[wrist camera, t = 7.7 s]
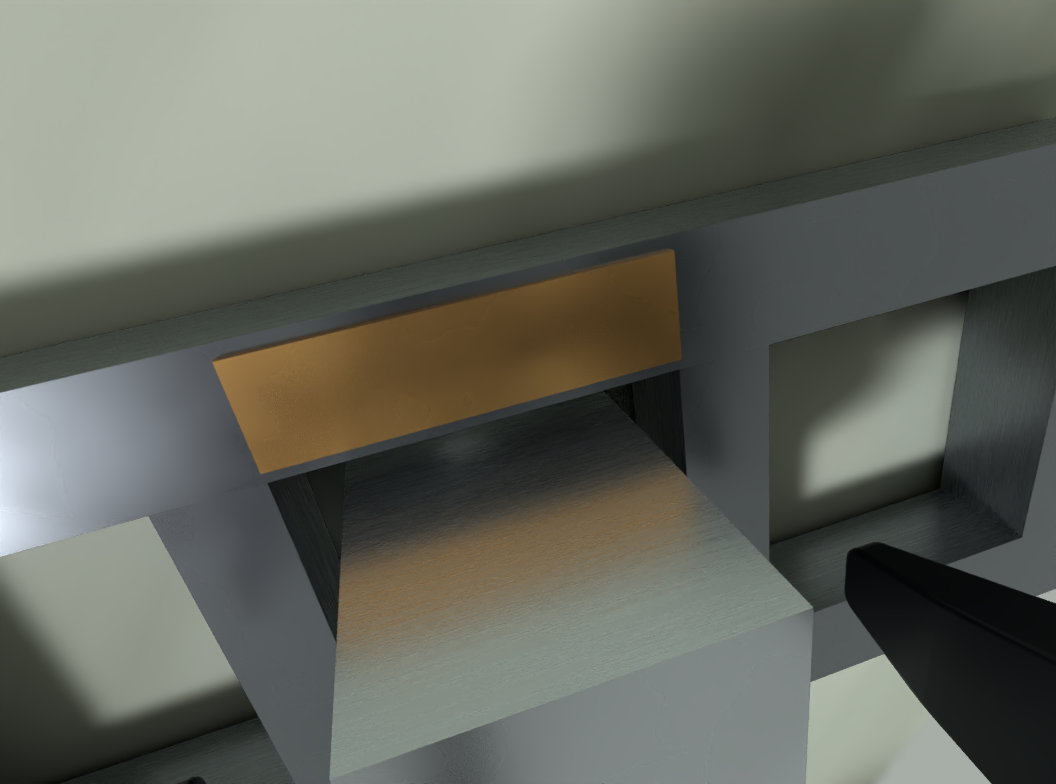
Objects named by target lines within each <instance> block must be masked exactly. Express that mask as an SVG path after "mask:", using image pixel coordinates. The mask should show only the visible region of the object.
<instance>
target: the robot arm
mask: <svg viewBox="0 0 1056 784" xmlns="http://www.w3.org/2000/svg"><path fill="white" fill-rule="evenodd" d="M844 593H845V597H846V600H847V602H848V604H849V606H850V608H851V609H852V611H853V612H854V613H855V615H856V616H857V617H858V619H859V620H860V622H861V623H862V624H863V626H864V627H865V628H866V630H867V631H868V632H869V634H870V635H871V636H872V638H873V639H874V641H875V642H876V643H877V645H878V646H879V647H880V649H881V650H882V651H883V653H884V654H885V655H886V657H887V658H888V660H889V661H890V662H891V664H892V665H893V666H894V668H895V669H896V670H897V672H898V673H899V674H900V676H901V677H902V679H903V680H904V681H905V683H906V684H907V685H908V687H909V688H910V689H911V691H912V692H913V693H914V694H915V696H916V697H917V698H918V700H919V701H920V702H921V703H922V705H923V706H924V707H925V708H926V709H927V711H928V712H929V713H930V714H931V715H932V717H933V718H934V719H935V720H936V721H937V722H938V723H939V725H940V726H941V727H942V728H943V729H944V730H945V731H946V732H947V734H948V735H949V736H950V737H951V738H952V739H953V741H955V743H956V744H957V745H958V746H959V747H960V748H961V750H962V751H963V752H964V753H965V754H966V755H967V756H968V757H969V759H970V760H971V761H972V762H973V763H974V764H975V765H976V767H977V768H978V769H979V770H980V771H981V772H982V773H983V774H984V776H985V777H986V778H987V779H988V780H989V781H990V783H991V784H1056V603H1053V602H1050V601H1047V600H1045V599H1042V598H1039V597H1036V596H1033V595H1030V594H1027V593H1025V592H1022V591H1019V590H1016V589H1013V588H1010V587H1007V586H1005V585H1002V584H999V583H996V582H993V581H990V580H988V579H985V578H982V577H979V576H976V575H973V574H970V573H968V572H965V571H962V570H959V569H956V568H953V567H950V566H948V565H945V564H942V563H939V562H936V561H933V560H930V559H928V558H925V557H922V556H919V555H916V554H913V553H910V552H908V551H905V550H902V549H899V548H896V547H893V546H890V545H888V544H885V543H881V542H876V541H873V542H868V543H865V544H863V545H860V546H857V547H854V548H852V549H850V550H849V552H848V553H847V557H846V570H845V584H844ZM170 784H206V782H205V781H204V779H203V778H202V777H199V776H197V775H195V776H190V777H187V778H184V779H181V780H179V781H176V782H173V783H170Z"/></svg>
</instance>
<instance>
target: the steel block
mask: <svg viewBox="0 0 1056 784" xmlns="http://www.w3.org/2000/svg"><path fill="white" fill-rule="evenodd" d="M813 611H814V608H813V607H812V606H811V605H810V604H809V603H808V601H807V600H806V599H805V598H804V597H803V596H802V595H801V594H800V593H799V592H798V591H797V590H796V589H795V588H794V587H793V586H792V585H791V584H790V583H789V582H788V581H787V580H786V579H785V578H784V577H783V576H782V575H781V574H780V573H779V571H778V570H777V569H776V568H775V567H774V566H773V565H772V564H771V563H770V562H769V561H768V560H767V559H766V558H765V557H764V556H763V555H762V554H761V553H760V552H759V551H758V550H757V549H756V548H755V547H754V546H753V545H752V544H751V543H750V542H749V540H748V539H747V538H746V537H745V536H744V535H743V534H742V533H741V532H740V531H739V530H738V529H737V528H736V527H735V526H734V525H733V524H732V523H731V522H730V521H729V520H728V519H727V518H726V517H725V516H724V515H723V514H722V513H721V512H720V511H719V509H718V508H717V507H716V506H715V505H714V504H713V503H712V502H711V501H710V500H709V499H708V498H707V497H706V496H705V495H704V494H703V493H702V492H701V491H700V490H699V489H698V488H697V487H696V486H695V485H694V484H693V483H692V482H691V481H690V479H689V478H688V477H687V476H686V475H685V474H684V473H683V472H682V471H681V470H680V469H679V468H678V467H677V466H676V465H675V464H674V463H673V462H672V461H671V460H670V459H669V458H668V457H667V456H666V455H665V454H664V453H663V452H662V451H661V450H660V448H659V447H658V446H657V445H656V444H655V443H654V442H653V441H652V440H651V439H650V438H649V437H648V436H647V435H646V434H645V433H644V432H643V431H642V430H641V429H640V428H639V427H638V426H637V425H636V424H635V423H634V422H633V421H632V420H631V418H630V417H629V416H628V415H627V414H626V413H625V412H624V411H623V410H622V409H621V408H620V407H619V406H618V405H617V404H616V403H615V402H614V401H613V400H612V399H611V398H610V397H609V396H608V395H607V394H606V393H605V392H604V391H599V392H596V393H592V394H588V395H585V396H581V397H577V398H574V399H570V400H567V401H563V402H559V403H556V404H552V405H548V406H545V407H541V408H538V409H534V410H530V411H527V412H523V413H519V414H516V415H512V416H509V417H505V418H501V419H498V420H494V421H490V422H487V423H483V424H480V425H476V426H472V427H469V428H465V429H461V430H458V431H454V432H451V433H447V434H443V435H440V436H436V437H432V438H429V439H425V440H422V441H418V442H414V443H411V444H407V445H403V446H400V447H396V448H393V449H389V450H385V451H382V452H378V453H374V454H371V455H367V456H363V457H360V458H356V459H353V460H349V461H346V473H345V493H344V512H343V531H342V550H341V569H340V588H339V607H338V626H337V645H336V664H335V683H334V703H333V722H332V741H331V760H330V779H329V780H330V782H331V784H806V764H807V742H808V720H809V698H810V676H811V654H812V633H813Z"/></svg>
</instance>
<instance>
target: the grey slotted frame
mask: <svg viewBox="0 0 1056 784" xmlns="http://www.w3.org/2000/svg"><path fill="white" fill-rule="evenodd" d="M966 290H969V294H968V300H967V307H966V314H965V321H964V328H963V334H962V341H961V348H960V355H959V362H958V369H957V375H956V382H955V389H954V396H953V403H952V409H951V416H950V423H949V430H948V437H947V444H946V450H945V457H944V464H943V471H942V478H941V484H940V488H939V489H936V490H934V491H931V492H928V493H925V494H922V495H919V496H916V497H913V498H910V499H907V500H904V501H901V502H898V503H895V504H892V505H889V506H886V507H883V508H880V509H877V510H874V511H871V512H868V513H865V514H862V515H859V516H856V517H853V518H850V519H847V520H844V521H841V522H838V523H835V524H832V525H829V526H826V527H823V528H820V529H817V530H814V531H811V532H808V533H805V534H802V535H799V536H796V537H793V538H790V539H787V540H784V541H781V542H778V543H775V544H773V545H770V546H769V345H770V344H773V343H777V342H781V341H784V340H788V339H791V338H795V337H799V336H802V335H806V334H810V333H813V332H817V331H820V330H824V329H828V328H831V327H835V326H839V325H842V324H846V323H850V322H853V321H857V320H860V319H864V318H868V317H871V316H875V315H879V314H882V313H886V312H889V311H893V310H897V309H900V308H904V307H908V306H911V305H915V304H918V303H922V302H926V301H929V300H933V299H937V298H940V297H944V296H947V295H951V294H955V293H958V292H962V291H966ZM628 383H632V389H633V398H634V407H635V416H636V425H637V426H638V427H639V428H640V429H641V430H642V431H643V432H644V433H645V434H646V435H647V436H648V437H649V438H650V439H651V440H652V441H653V442H654V443H655V444H656V445H657V446H658V447H659V448H660V450H661V451H662V452H663V453H664V454H665V455H666V456H667V457H668V458H669V459H670V460H671V461H672V462H673V463H674V464H675V465H676V466H677V467H678V468H679V469H680V470H681V471H682V472H683V473H684V474H685V475H686V476H687V477H688V478H689V479H690V481H691V482H692V483H693V484H694V485H695V486H696V487H697V488H698V489H699V490H700V491H701V492H702V493H703V494H704V495H705V496H706V497H707V498H708V499H709V500H710V501H711V502H712V503H713V504H714V505H715V506H716V507H717V508H718V509H719V511H720V512H721V513H722V514H723V515H724V516H725V517H726V518H727V519H728V520H729V521H730V522H731V523H732V524H733V525H734V526H735V527H736V528H737V529H738V530H739V531H740V532H741V533H742V534H743V535H744V536H745V537H746V538H747V539H748V540H749V542H750V543H751V544H752V545H753V546H754V547H755V548H756V549H757V550H758V551H759V552H760V553H761V554H762V555H763V556H764V557H765V558H766V559H767V560H768V561H769V562H770V563H771V564H772V565H773V566H774V567H775V568H776V569H777V570H778V571H779V573H780V574H781V575H782V576H783V577H784V578H785V579H786V580H787V581H788V582H789V583H790V584H791V585H792V586H793V587H794V588H795V589H796V590H797V591H798V592H799V593H800V594H801V595H802V596H803V597H804V598H805V599H806V600H807V601H808V603H809V604H810V605H811V606H812V607H813V608H814V611H813V633H812V654H811V676H810V682H812V681H814V680H817V679H820V678H822V677H825V676H827V675H830V674H833V673H835V672H838V671H841V670H843V669H846V668H848V667H851V666H854V665H856V664H859V663H862V662H864V661H867V660H869V659H872V658H875V657H877V656H880V655H883V654H884V653H883V651H882V650H881V649H880V647H879V646H878V645H877V643H876V642H875V641H874V639H873V638H872V636H871V635H870V634H869V632H868V631H867V630H866V628H865V627H864V626H863V624H862V623H861V622H860V620H859V619H858V617H857V616H856V615H855V613H854V612H853V611H852V609H851V608H850V606H849V604H848V602H847V600H846V597H845V593H844V584H845V570H846V557H847V553H848V552H849V550H850V549H852V548H854V547H857V546H860V545H863V544H865V543H868V542H873V541H876V542H881V543H885V544H888V545H890V546H893V547H896V548H899V549H902V550H905V551H908V552H910V553H913V554H916V555H919V556H922V557H925V558H928V559H930V560H933V561H936V562H939V563H942V564H945V565H948V566H950V567H953V568H956V569H959V570H962V571H965V572H968V573H970V574H973V575H976V576H979V577H982V578H985V579H988V580H990V581H993V582H996V583H999V584H1002V585H1005V586H1007V587H1010V588H1013V589H1016V590H1019V591H1022V592H1025V593H1027V594H1030V595H1033V596H1038V595H1040V594H1043V593H1046V592H1048V591H1051V590H1053V589H1056V117H1055V118H1051V119H1046V120H1042V121H1037V122H1033V123H1029V124H1024V125H1020V126H1015V127H1011V128H1007V129H1002V130H998V131H993V132H989V133H985V134H980V135H976V136H971V137H967V138H963V139H958V140H954V141H949V142H945V143H941V144H936V145H932V146H927V147H923V148H919V149H914V150H910V151H906V152H901V153H897V154H892V155H888V156H884V157H879V158H875V159H870V160H866V161H862V162H857V163H853V164H848V165H844V166H840V167H835V168H831V169H826V170H822V171H818V172H813V173H809V174H804V175H800V176H796V177H791V178H787V179H782V180H778V181H774V182H769V183H765V184H760V185H756V186H752V187H747V188H743V189H739V190H734V191H730V192H725V193H721V194H717V195H712V196H708V197H703V198H699V199H695V200H690V201H686V202H681V203H677V204H673V205H668V206H664V207H659V208H655V209H651V210H646V211H642V212H637V213H633V214H629V215H624V216H620V217H615V218H611V219H607V220H602V221H598V222H594V223H589V224H585V225H580V226H576V227H572V228H567V229H563V230H558V231H554V232H550V233H545V234H541V235H536V236H532V237H528V238H523V239H519V240H514V241H510V242H506V243H501V244H497V245H492V246H488V247H484V248H479V249H475V250H470V251H466V252H462V253H457V254H453V255H448V256H444V257H440V258H435V259H431V260H427V261H422V262H418V263H413V264H409V265H405V266H400V267H396V268H391V269H387V270H383V271H378V272H374V273H369V274H365V275H361V276H356V277H352V278H347V279H343V280H339V281H334V282H330V283H325V284H321V285H317V286H312V287H308V288H303V289H299V290H295V291H290V292H286V293H281V294H277V295H273V296H268V297H264V298H260V299H255V300H251V301H246V302H242V303H238V304H233V305H229V306H224V307H220V308H216V309H211V310H207V311H202V312H198V313H194V314H189V315H185V316H180V317H176V318H172V319H167V320H163V321H158V322H154V323H150V324H145V325H141V326H136V327H132V328H128V329H123V330H119V331H115V332H110V333H106V334H101V335H97V336H93V337H88V338H84V339H79V340H75V341H71V342H66V343H62V344H57V345H53V346H49V347H44V348H40V349H35V350H31V351H27V352H22V353H18V354H13V355H9V356H5V357H0V557H1V556H4V555H8V554H12V553H15V552H19V551H23V550H26V549H30V548H33V547H37V546H41V545H44V544H48V543H52V542H55V541H59V540H62V539H66V538H70V537H73V536H77V535H81V534H84V533H88V532H91V531H95V530H99V529H102V528H106V527H110V526H113V525H117V524H120V523H124V522H128V521H131V520H135V519H139V518H142V517H146V516H149V518H150V520H151V521H152V523H153V525H154V527H155V529H156V531H157V532H158V534H159V536H160V538H161V540H162V542H163V543H164V545H165V547H166V549H167V551H168V552H169V554H170V556H171V558H172V560H173V562H174V563H175V565H176V567H177V569H178V571H179V573H180V574H181V576H182V578H183V580H184V582H185V583H186V585H187V587H188V589H189V591H190V593H191V594H192V596H193V598H194V600H195V602H196V604H197V605H198V607H199V609H200V611H201V613H202V614H203V616H204V618H205V620H206V622H207V624H208V625H209V627H210V629H211V631H212V633H213V635H214V636H215V638H216V640H217V642H218V644H219V645H220V647H221V649H222V651H223V653H224V655H225V656H226V658H227V660H228V662H229V664H230V666H231V667H232V669H233V671H234V673H235V675H236V676H237V678H238V680H239V682H240V684H241V686H242V687H243V689H244V691H245V693H246V695H247V697H248V698H249V700H250V702H251V704H252V706H253V707H254V709H255V711H256V713H257V715H258V717H257V718H254V719H251V720H248V721H245V722H242V723H239V724H236V725H233V726H230V727H227V728H224V729H221V730H218V731H215V732H212V733H209V734H206V735H203V736H200V737H197V738H194V739H191V740H188V741H185V742H182V743H179V744H176V745H173V746H170V747H167V748H164V749H161V750H158V751H155V752H152V753H149V754H146V755H143V756H140V757H137V758H134V759H131V760H128V761H126V762H123V763H120V764H117V765H114V766H111V767H108V768H105V769H102V770H99V771H96V772H93V773H90V774H87V775H84V776H81V777H78V778H75V779H72V780H69V781H66V782H63V783H60V784H170V783H173V782H176V781H179V780H181V779H184V778H187V777H190V776H195V775H197V776H199V777H202V778H203V779H204V781H205V782H206V784H331V782H330V780H329V779H330V760H331V741H332V722H333V703H334V683H335V664H336V645H337V626H338V607H339V588H340V569H341V561H340V559H339V556H338V554H337V551H336V549H335V546H334V544H333V541H332V539H331V536H330V533H329V531H328V528H327V526H326V523H325V521H324V518H323V516H322V513H321V511H320V508H319V506H318V503H317V501H316V498H315V495H314V493H313V490H312V488H311V485H310V483H309V480H308V478H307V475H306V473H305V472H309V471H313V470H316V469H320V468H324V467H327V466H331V465H334V464H338V463H342V462H345V461H349V460H353V459H356V458H360V457H363V456H367V455H371V454H374V453H378V452H382V451H385V450H389V449H393V448H396V447H400V446H403V445H407V444H411V443H414V442H418V441H422V440H425V439H429V438H432V437H436V436H440V435H443V434H447V433H451V432H454V431H458V430H461V429H465V428H469V427H472V426H476V425H480V424H483V423H487V422H490V421H494V420H498V419H501V418H505V417H509V416H512V415H516V414H519V413H523V412H527V411H530V410H534V409H538V408H541V407H545V406H548V405H552V404H556V403H559V402H563V401H567V400H570V399H574V398H577V397H581V396H585V395H588V394H592V393H596V392H599V391H603V390H606V389H610V388H614V387H617V386H621V385H625V384H628Z"/></svg>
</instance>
